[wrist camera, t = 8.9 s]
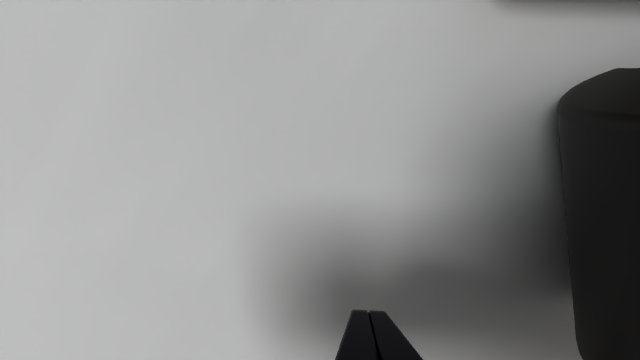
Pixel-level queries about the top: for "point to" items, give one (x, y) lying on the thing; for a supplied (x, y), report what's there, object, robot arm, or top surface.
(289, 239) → the top surface
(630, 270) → the end cap
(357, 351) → the robot arm
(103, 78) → the top surface
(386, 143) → the top surface
